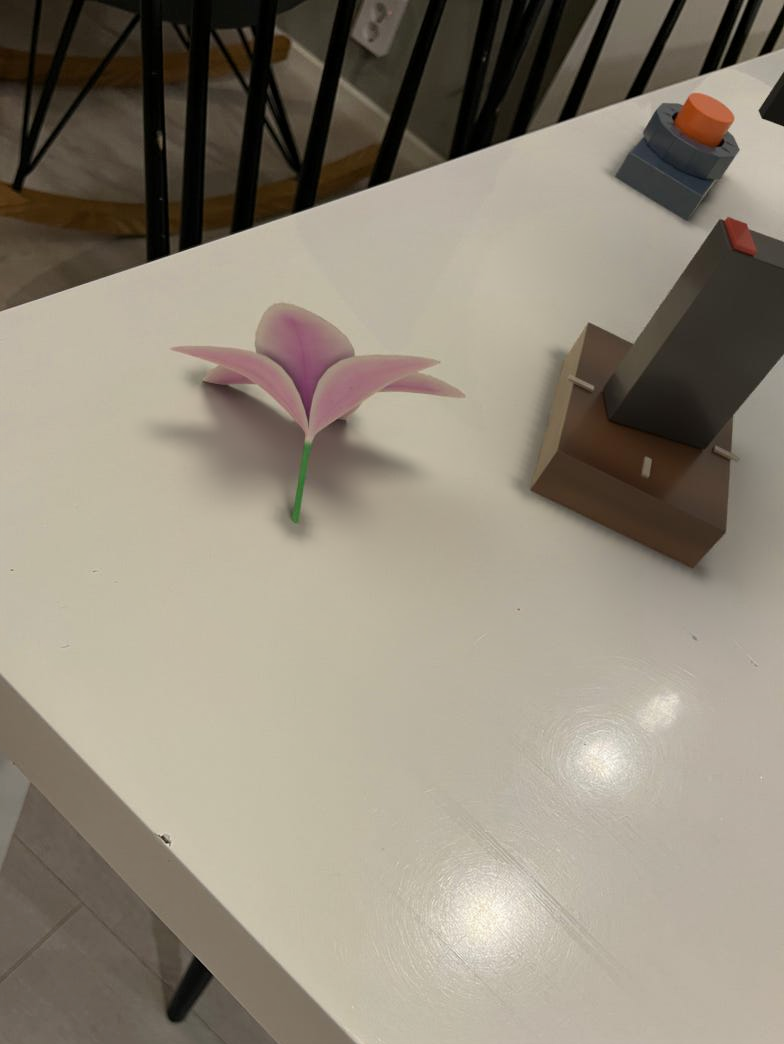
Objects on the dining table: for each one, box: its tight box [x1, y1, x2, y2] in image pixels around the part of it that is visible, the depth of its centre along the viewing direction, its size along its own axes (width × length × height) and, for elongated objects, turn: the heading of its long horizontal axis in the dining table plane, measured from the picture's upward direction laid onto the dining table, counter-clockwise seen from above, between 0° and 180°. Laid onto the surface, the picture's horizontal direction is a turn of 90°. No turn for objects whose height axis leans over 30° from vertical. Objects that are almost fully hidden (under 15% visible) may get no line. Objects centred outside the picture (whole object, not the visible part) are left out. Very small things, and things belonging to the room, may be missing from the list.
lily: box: [169, 302, 467, 524], centre depth 46 cm, size 12×12×10 cm
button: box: [674, 92, 735, 147], centre depth 77 cm, size 4×4×2 cm
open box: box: [603, 216, 784, 449], centre depth 51 cm, size 6×2×10 cm, turn 87°
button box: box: [614, 102, 741, 222], centre depth 79 cm, size 10×6×4 cm, turn 150°
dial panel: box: [530, 321, 740, 569], centre depth 56 cm, size 12×10×3 cm
